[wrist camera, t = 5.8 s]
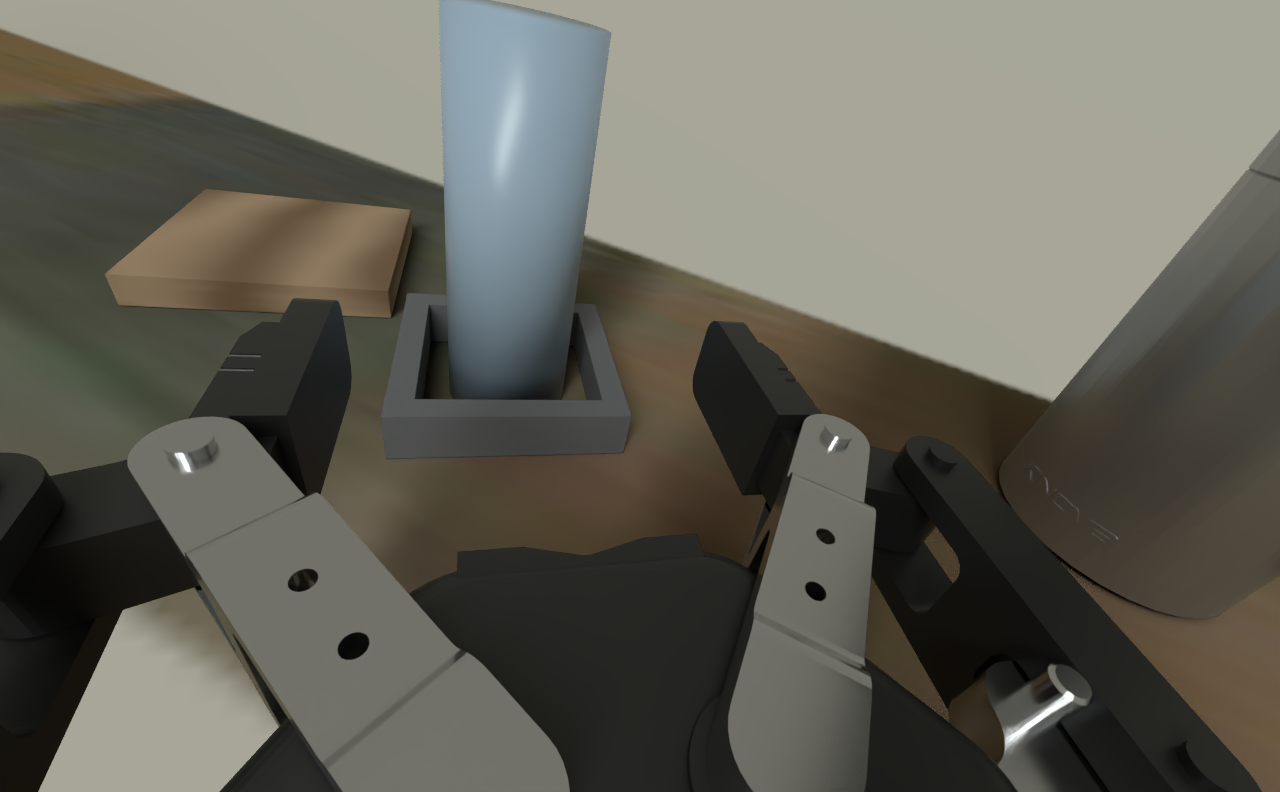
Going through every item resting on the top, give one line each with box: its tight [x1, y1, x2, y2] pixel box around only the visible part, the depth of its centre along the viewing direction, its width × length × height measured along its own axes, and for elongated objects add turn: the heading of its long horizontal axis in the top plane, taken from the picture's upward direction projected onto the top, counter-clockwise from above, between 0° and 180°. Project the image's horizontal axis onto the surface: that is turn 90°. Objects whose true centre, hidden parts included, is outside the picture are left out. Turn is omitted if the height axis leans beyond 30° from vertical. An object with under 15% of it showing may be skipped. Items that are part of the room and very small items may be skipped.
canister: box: [439, 0, 611, 400], centre depth 20 cm, size 5×5×14 cm
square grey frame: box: [380, 293, 632, 459], centre depth 24 cm, size 9×9×2 cm
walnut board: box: [105, 189, 412, 318], centre depth 29 cm, size 11×11×2 cm
